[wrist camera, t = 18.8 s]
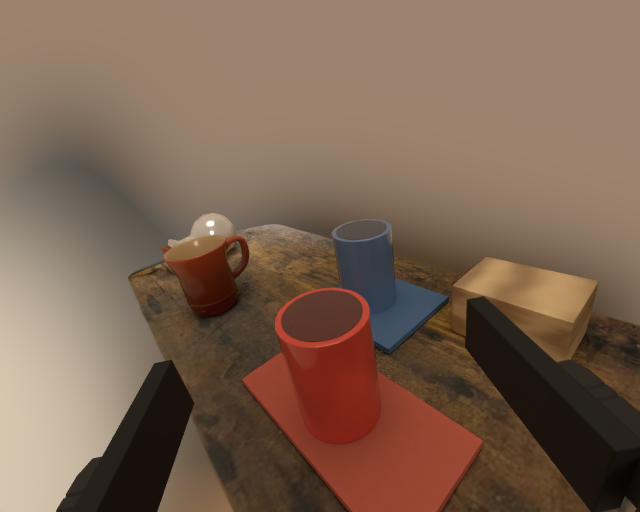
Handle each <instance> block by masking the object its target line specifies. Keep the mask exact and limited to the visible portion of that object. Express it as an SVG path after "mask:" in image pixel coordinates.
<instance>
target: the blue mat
mask: <svg viewBox="0 0 640 512" xmlns="http://www.w3.org/2000/svg"><path fill="white" fill-rule="evenodd" d="M395 283H396V295H397V298H396V301H395V303H394V304H393V305H392V306H391V307H390V308H388V309H387V310H384V311H382V312H379V313H373V314H370V315H371V323H372V331H373V339H374V346H375V347H377V348H379V349H380V350H382V351H384V352H386V353H387V354H391V353H392V352H393V351H394V350H395V349H396V348H397V347H398V346H399V345H401V344H402V343H403V342H404V341H405V340H406V339H407V338H408V337H409V336H411V335H412V334H413V333H414V332H415V331H416V330H417V329H418V328H420V327H421V326H422V325H423V324H424V323H425V322H426V321H427V320H428V319H430V318H431V317H432V316H433V315H434V314H435V313H436V312H437V311H439V310H440V309H441V308H442V307H443V306H444V305H445V304H446V303H447V302H448V296H445V295H442V294H440V293H437V292H434V291H431V290H428V289H425V288H422V287H419V286H416V285H413V284H410V283H407V282H404V281H401V280H399V279H396V278H395ZM335 288H341V286H340V285H338V286H337V287H335Z"/></svg>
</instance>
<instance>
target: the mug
mask: <svg viewBox="0 0 640 512" xmlns="http://www.w3.org/2000/svg"><path fill="white" fill-rule="evenodd" d="M235 241H239V243H240V246H241V251H242V258H241V261H240V263H239V265H238V266H237V267H235V268H234V269H230V266H229V264H228V260H227V254H226V250H227V249H228V248H229V246H230V245H231V244H232V243H233V242H235ZM163 259H164V261H165V262H166V263H167V264H168V265H169V266H170V267H171V269H172V270H173V271H174V272H175V274H176V275H177V277H178V279H179V282H180V284H181V287H182V290H183V292H184V295H185V297H186V299H187V303H188V305H189V306H190V308H191V309H192V310H193V312H194V313H195V314H196V315H198V316H202V317H212V316H216V315H219V314H222V313H224V312H226V311H227V310H229V309H230V308H231V307H232V306H233V305H234V304H235V303H236V301H237V299H238V289H237V284H236V282H235V278H236V277H238V276H239V275H240V274H241V273H242V272H243V270H244V269H245V268H246V266H247V264H248V260H249V249H248V245H247V242H246V241H245V239H244V238H242V237H240V236H231V237H228V238H225V237H223V236H220V235H210V236H203V237H199V238H195V239H191V240H188V241H186V242H183V243H181V244H178V245H176V246H174V247H173V248H171V249H169V250H168V251H167V252H166V253H165V254H164V256H163Z"/></svg>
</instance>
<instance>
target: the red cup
mask: <svg viewBox="0 0 640 512" xmlns="http://www.w3.org/2000/svg"><path fill="white" fill-rule="evenodd" d="M275 330H276V334H277V337H278V340H279V344H280V347H281V350H282V354H283V357H284V360H285V364H286V367H287V371H288V374H289V377H290V381H291V384H292V387H293V391H294V394H295V397H296V401H297V404H298V408H299V411H300V414H301V418H302V421H303V423H304V425H305V427H306V429H307V430H308V431H309V432H310V433H311V434H312V435H313V436H315V437H316V438H317V439H319V440H321V441H324V442H327V443H332V444H346V443H350V442H353V441H356V440H358V439H360V438H362V437H363V436H365V435H366V434H368V433H369V432H370V431H371V430H372V428H373V427H374V426H375V424H376V423H377V421H378V419H379V417H380V413H381V407H382V405H381V395H380V387H379V379H378V371H377V363H376V355H375V347H374V339H373V331H372V323H371V315H370V308H369V305H368V303H367V301H366V300H365V299H364V298H363V297H362V296H361V295H359V294H358V293H356V292H353V291H351V290H347V289H342V288H323V289H317V290H313V291H309V292H306V293H304V294H301V295H299V296H297V297H295V298H294V299H292V300H290V301H289V302H288V303H287V304H285V305H284V306H283V307H282V309H281V310H280V311H279V313H278V314H277V317H276V320H275Z"/></svg>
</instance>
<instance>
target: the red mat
mask: <svg viewBox="0 0 640 512" xmlns="http://www.w3.org/2000/svg"><path fill="white" fill-rule="evenodd" d="M378 379H379V387H380V395H381V405H382V407H381V413H380V417H379V419H378V421H377V423H376V424H375V426H374V427H373V428H372V430H371V431H370V432H369V433H368V434H366V435H365V436H363V437H362V438H360V439H358V440H356V441H353V442H350V443H346V444H332V443H327V442H324V441H321V440H319V439H317V438H316V437H315V436H313V435H312V434H311V433H310V432H309V431H308V430H307V429H306V427H305V425H304V423H303V421H302V418H301V414H300V411H299V408H298V404H297V401H296V397H295V394H294V391H293V387H292V384H291V381H290V377H289V374H288V371H287V367H286V364H285V360H284V357H283V354H282V352H281V353H279V354H278V355H277V356H275V357H274V358H272V359H271V360H269V361H268V362H266V363H265V364H263V365H262V366H260V367H259V368H258V369H256V370H255V371H253V372H252V373H250V374H249V375H247V376H246V377H244V378H243V379H242V382H243V384H244V386H245V387H246V388H247V389H248V390H249V392H250V393H251V394H252V395H253V396H254V398H255V399H256V400H257V401H258V402H259V404H260V405H261V406H262V407H263V409H264V410H265V411H266V412H267V413H268V415H269V416H270V417H271V418H272V419H273V421H274V422H275V423H276V424H277V425H278V427H279V428H280V429H281V430H282V432H283V433H284V434H285V435H286V436H287V438H288V439H289V440H290V441H291V442H292V444H293V445H294V446H295V447H296V449H297V450H298V451H299V452H300V453H301V455H302V456H303V457H304V458H305V459H306V461H307V462H308V463H309V464H310V465H311V467H312V468H313V469H314V470H315V472H316V473H317V474H318V475H319V476H320V478H321V479H322V480H323V481H324V482H325V484H326V485H327V486H328V487H329V489H330V490H331V491H332V492H333V493H334V495H335V496H336V497H337V498H338V499H339V501H340V502H341V503H342V504H343V505H344V507H345V508H346V509H347V510H348V512H441V511H442V509H443V508H444V506H445V505H446V503H447V501H448V500H449V498H450V497H451V495H452V494H453V492H454V491H455V489H456V487H457V486H458V484H459V483H460V481H461V480H462V478H463V477H464V475H465V473H466V472H467V470H468V469H469V467H470V466H471V464H472V463H473V461H474V459H475V458H476V456H477V455H478V453H479V452H480V450H481V449H482V446H483V440H482V439H480V438H479V437H477V436H476V435H474V434H472V433H471V432H469V431H468V430H466V429H465V428H463V427H462V426H460V425H459V424H457V423H456V422H454V421H453V420H451V419H450V418H448V417H447V416H445V415H443V414H442V413H440V412H439V411H437V410H436V409H434V408H433V407H431V406H430V405H428V404H427V403H425V402H424V401H422V400H421V399H419V398H418V397H416V396H414V395H413V394H411V393H410V392H408V391H407V390H405V389H404V388H402V387H401V386H399V385H398V384H396V383H395V382H393V381H392V380H390V379H389V378H387V377H386V376H384V375H382V374H381V373H379V372H378Z"/></svg>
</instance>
